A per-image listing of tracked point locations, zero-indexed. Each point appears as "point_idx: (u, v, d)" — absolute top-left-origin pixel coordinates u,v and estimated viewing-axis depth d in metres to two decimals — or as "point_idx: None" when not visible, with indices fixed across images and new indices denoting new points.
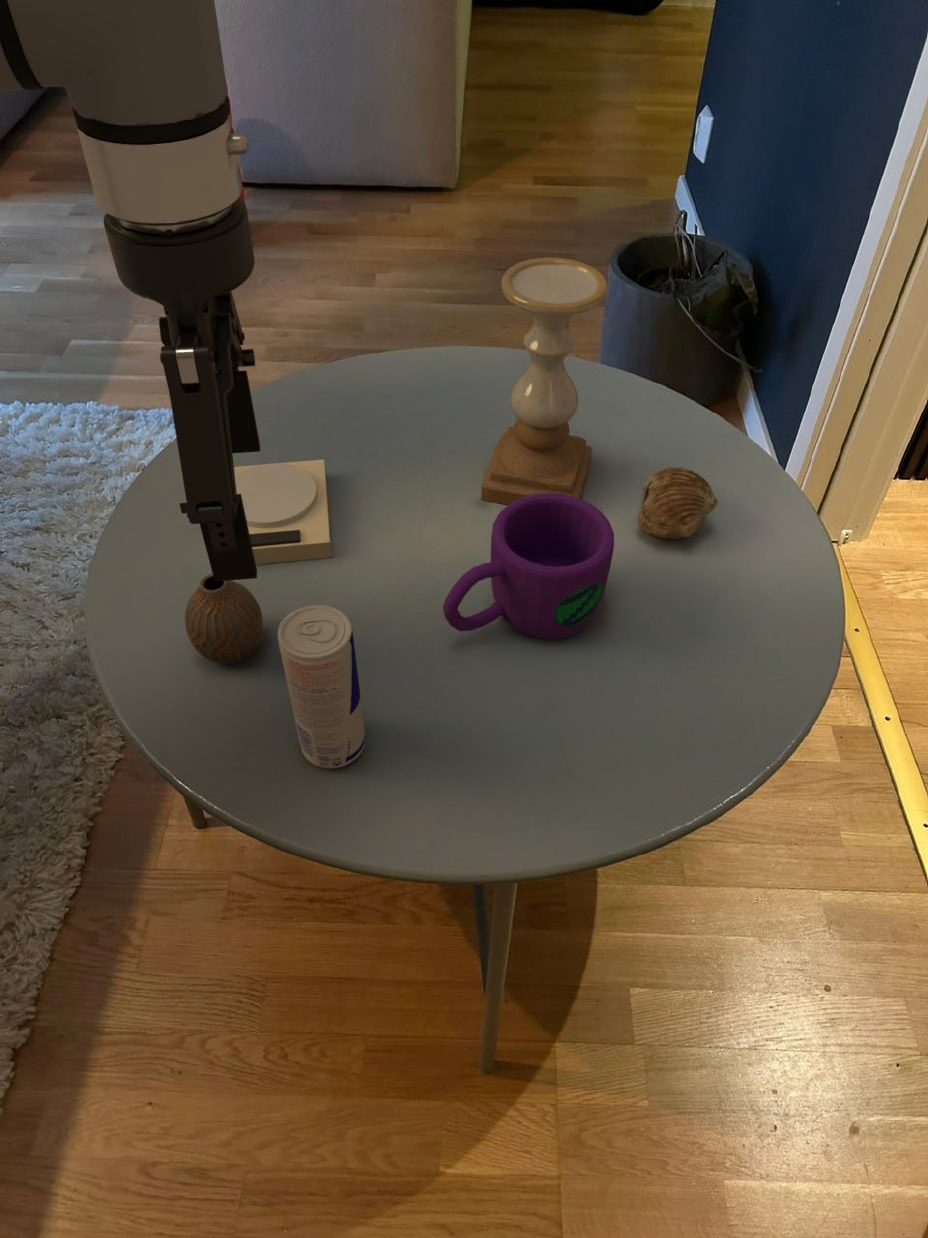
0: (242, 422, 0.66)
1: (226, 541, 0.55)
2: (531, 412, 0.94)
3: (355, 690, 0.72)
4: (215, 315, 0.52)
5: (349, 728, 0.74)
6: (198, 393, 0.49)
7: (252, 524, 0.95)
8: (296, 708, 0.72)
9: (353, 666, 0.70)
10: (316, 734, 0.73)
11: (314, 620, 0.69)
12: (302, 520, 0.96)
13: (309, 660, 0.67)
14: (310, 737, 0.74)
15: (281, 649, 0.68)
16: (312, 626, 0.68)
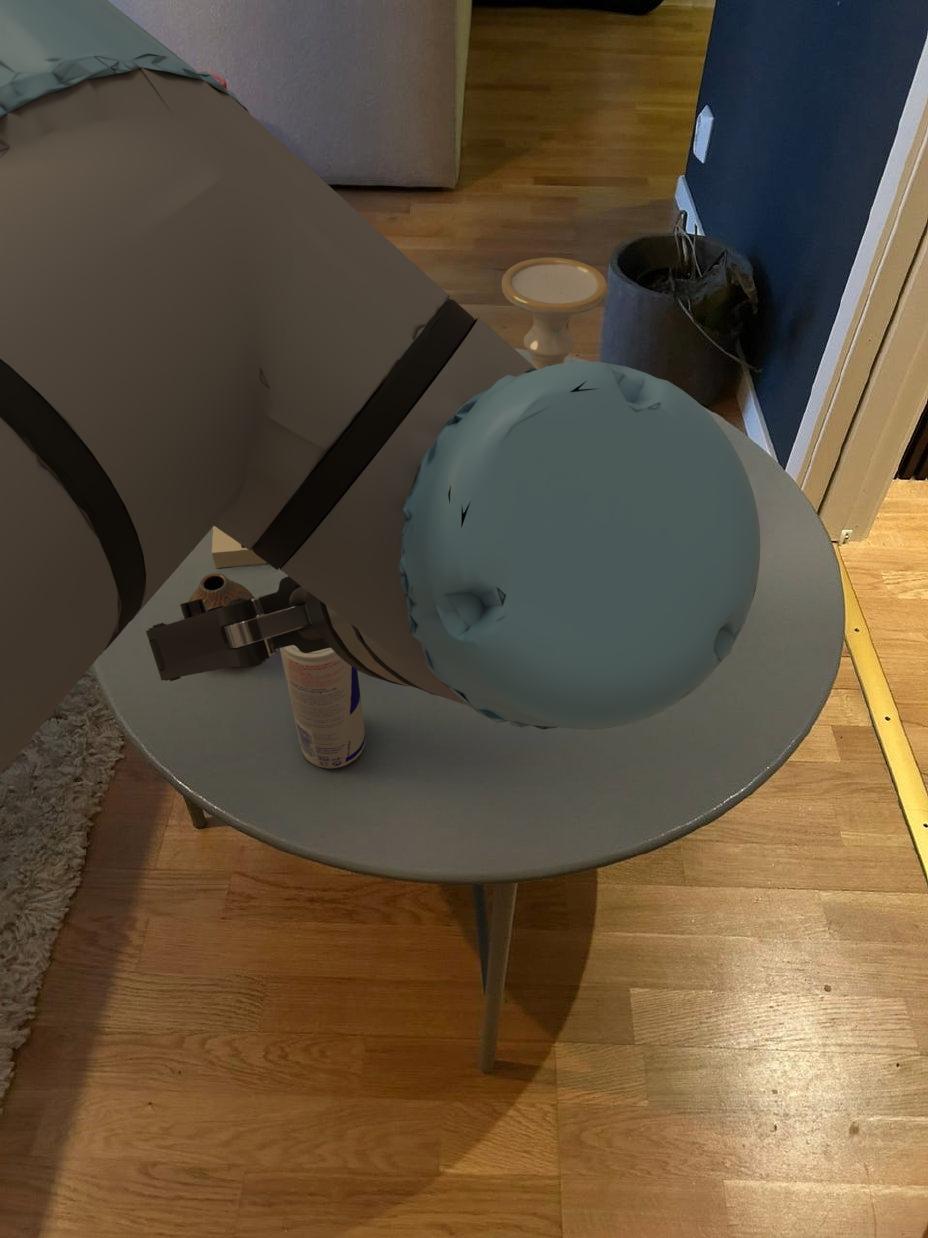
0: None
1: None
2: None
3: (355, 690, 0.72)
4: None
5: (349, 728, 0.74)
6: (224, 645, 0.37)
7: None
8: (296, 708, 0.72)
9: None
10: (316, 734, 0.73)
11: None
12: None
13: (309, 660, 0.67)
14: (310, 737, 0.74)
15: (281, 649, 0.68)
16: None
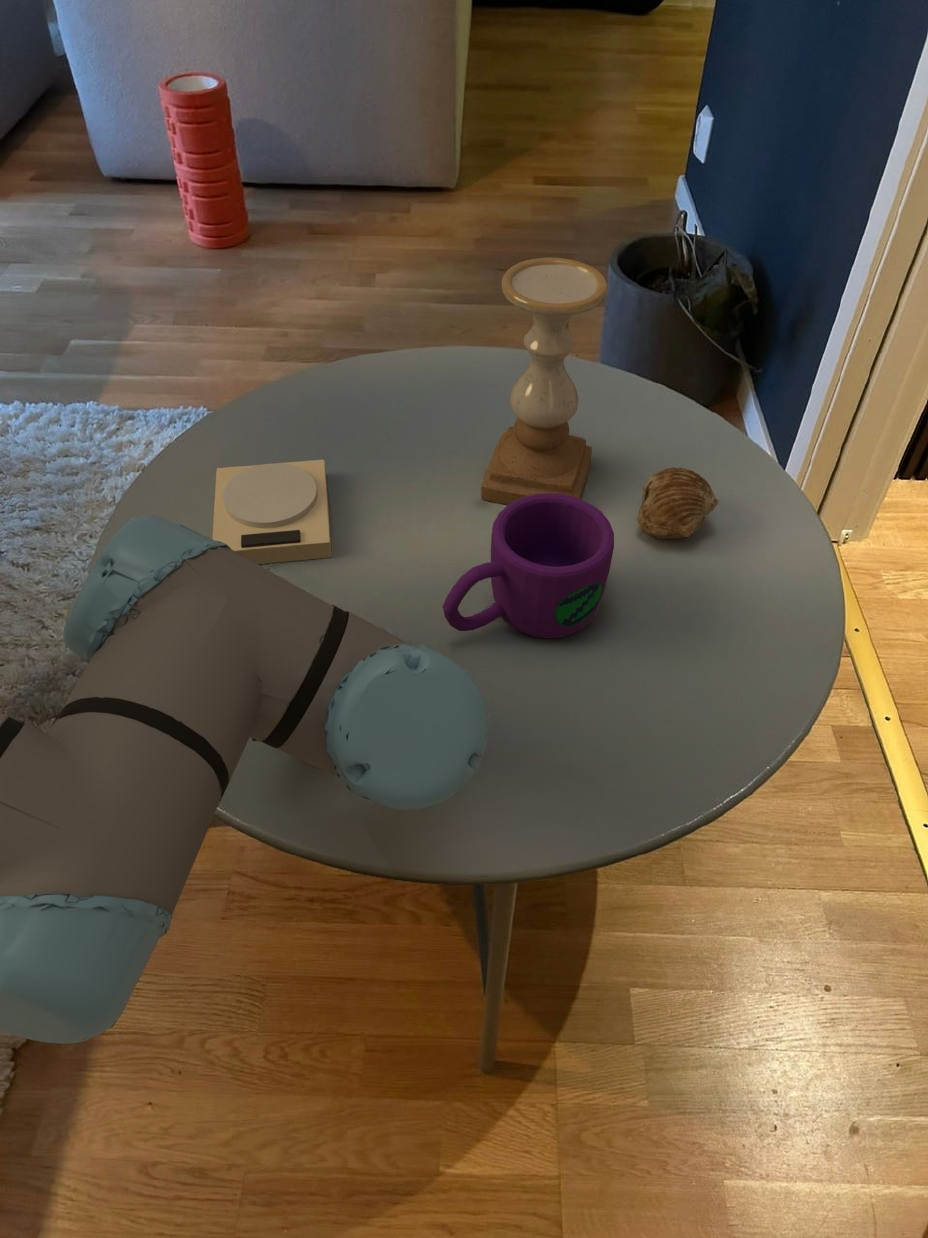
0: None
1: None
2: (531, 412, 0.94)
3: None
4: None
5: None
6: None
7: (252, 524, 0.95)
8: None
9: None
10: None
11: None
12: (302, 520, 0.96)
13: None
14: None
15: None
16: None
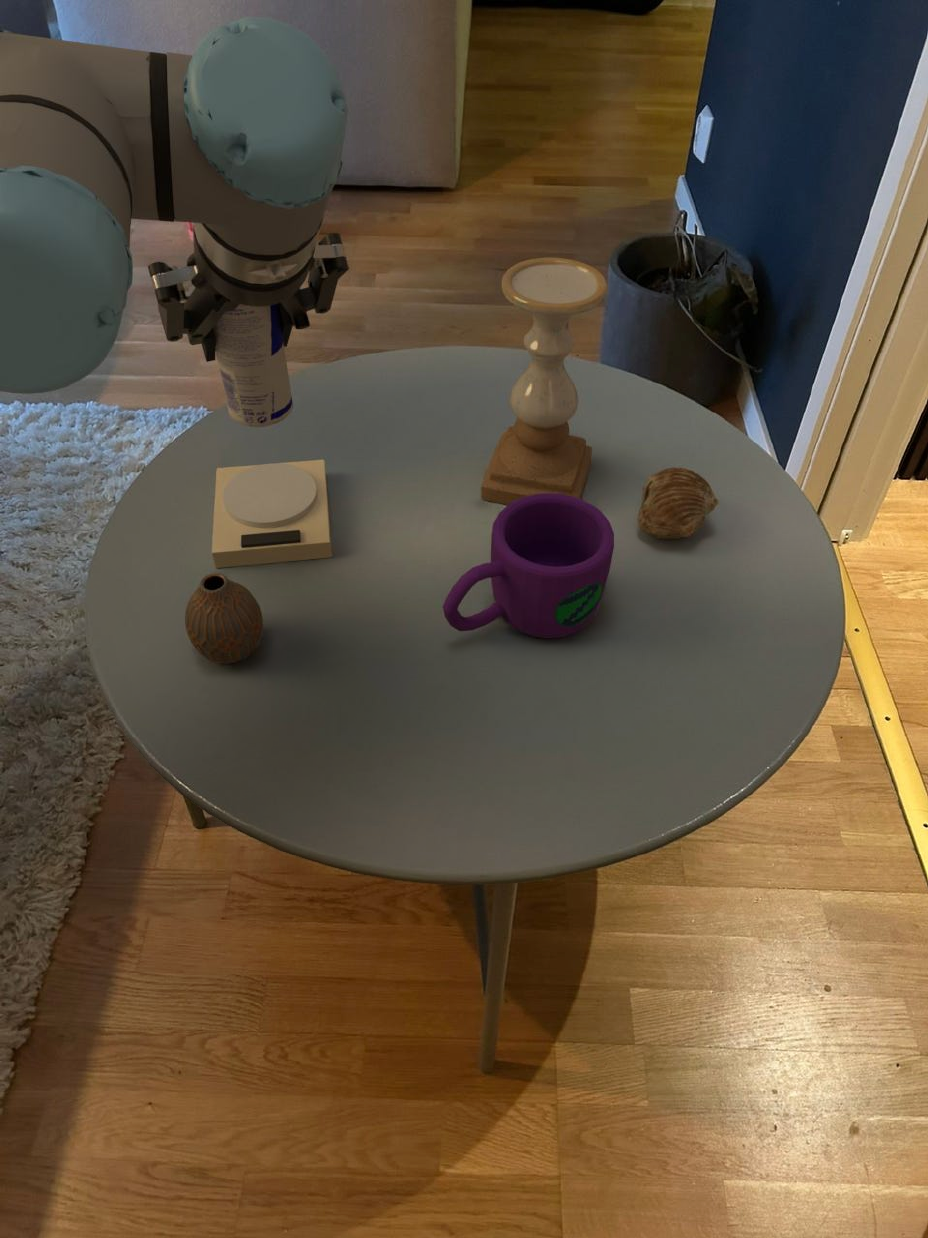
0: None
1: (187, 335, 0.73)
2: (531, 412, 0.94)
3: (276, 328, 0.73)
4: None
5: (271, 373, 0.75)
6: None
7: (252, 524, 0.95)
8: (218, 345, 0.73)
9: None
10: (238, 375, 0.74)
11: None
12: (302, 520, 0.96)
13: None
14: (233, 382, 0.75)
15: None
16: None
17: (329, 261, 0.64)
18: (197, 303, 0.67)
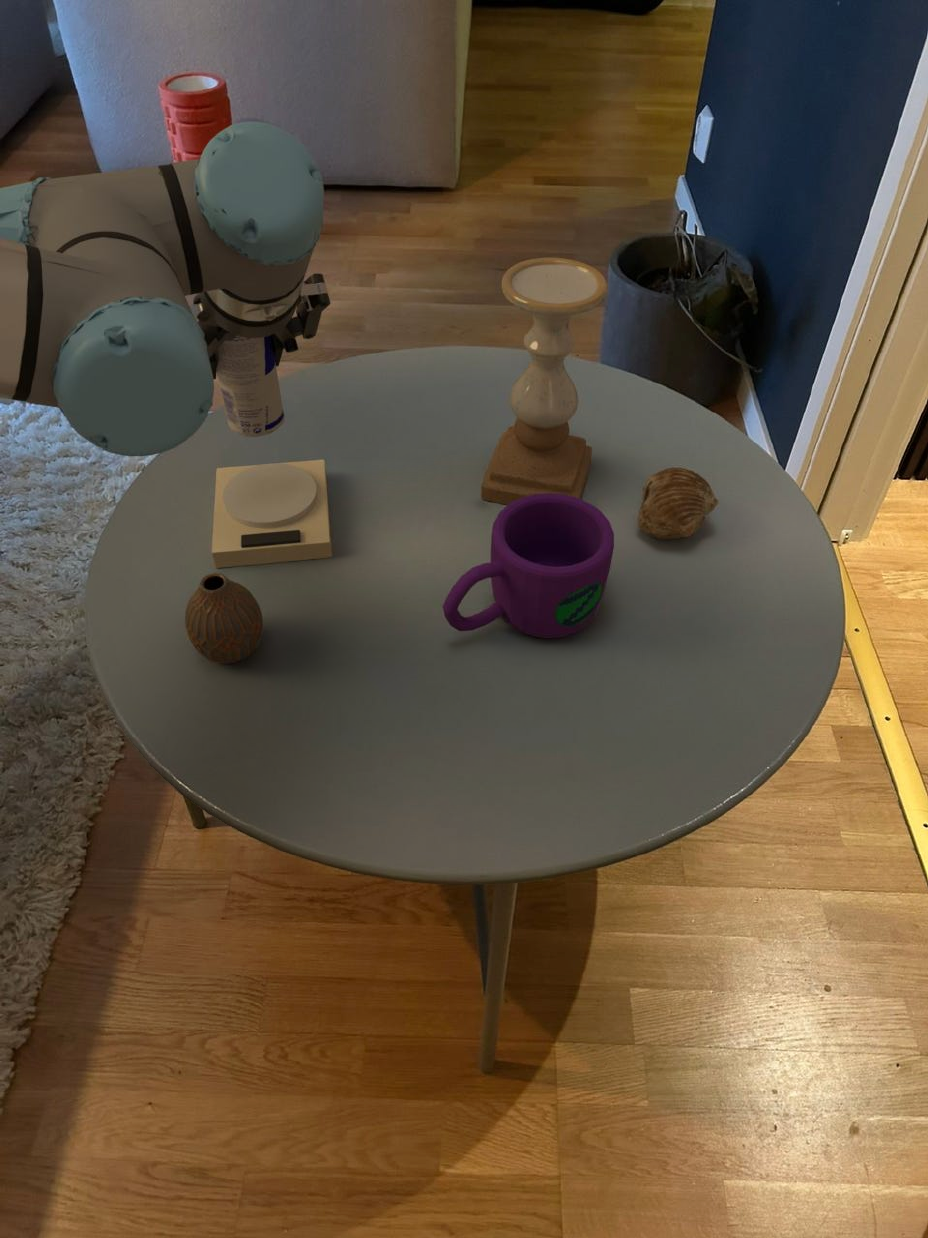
0: None
1: None
2: (531, 412, 0.94)
3: (269, 351, 0.84)
4: None
5: (265, 390, 0.86)
6: None
7: (252, 524, 0.95)
8: (218, 366, 0.84)
9: None
10: (236, 393, 0.86)
11: None
12: (302, 520, 0.96)
13: None
14: (232, 398, 0.86)
15: None
16: None
17: (314, 297, 0.75)
18: None
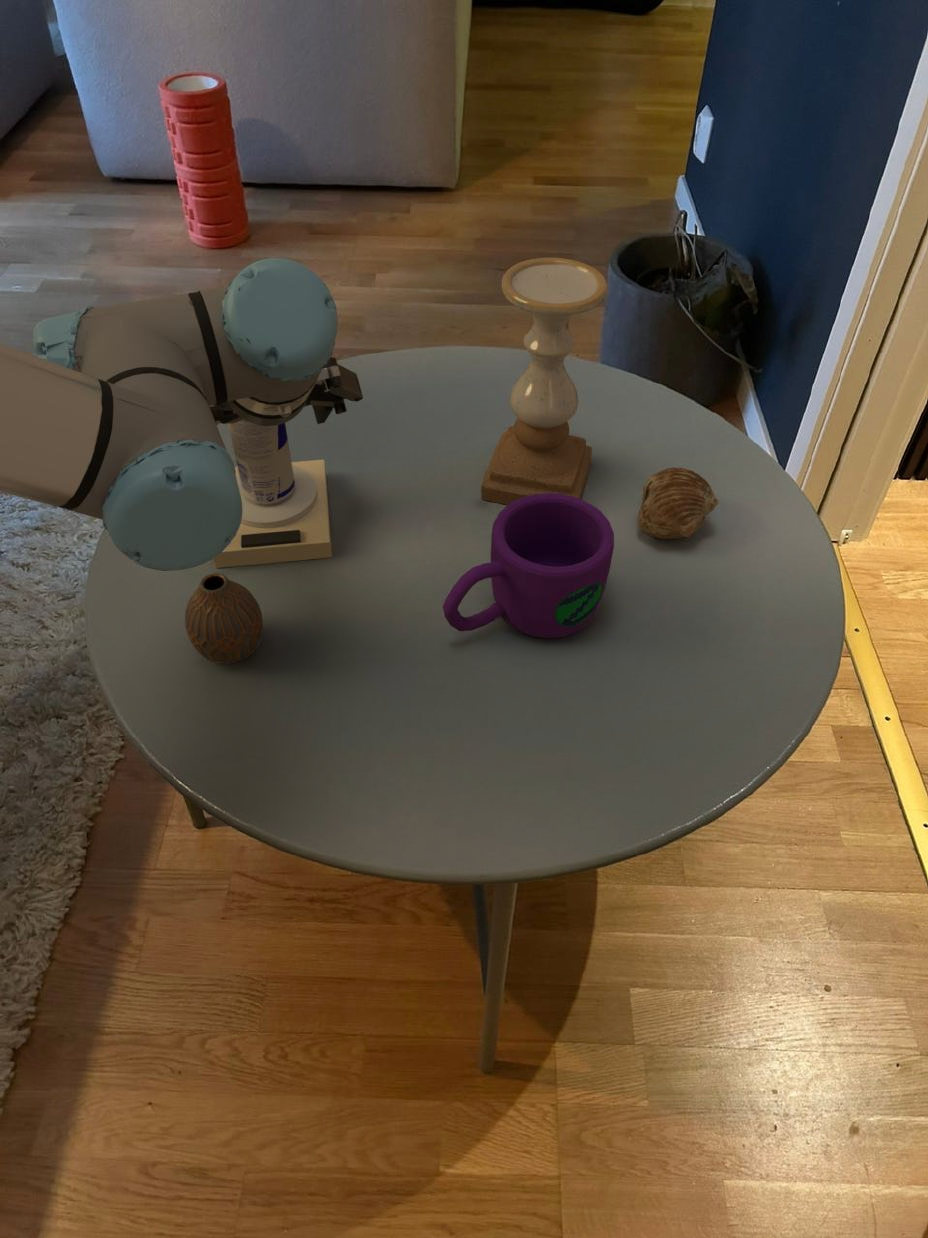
0: (318, 410, 0.93)
1: None
2: (531, 412, 0.94)
3: (282, 429, 0.91)
4: None
5: (278, 463, 0.92)
6: None
7: (252, 524, 0.95)
8: (235, 442, 0.91)
9: None
10: (251, 466, 0.92)
11: None
12: (302, 520, 0.96)
13: None
14: (247, 470, 0.92)
15: None
16: None
17: (327, 379, 0.80)
18: None
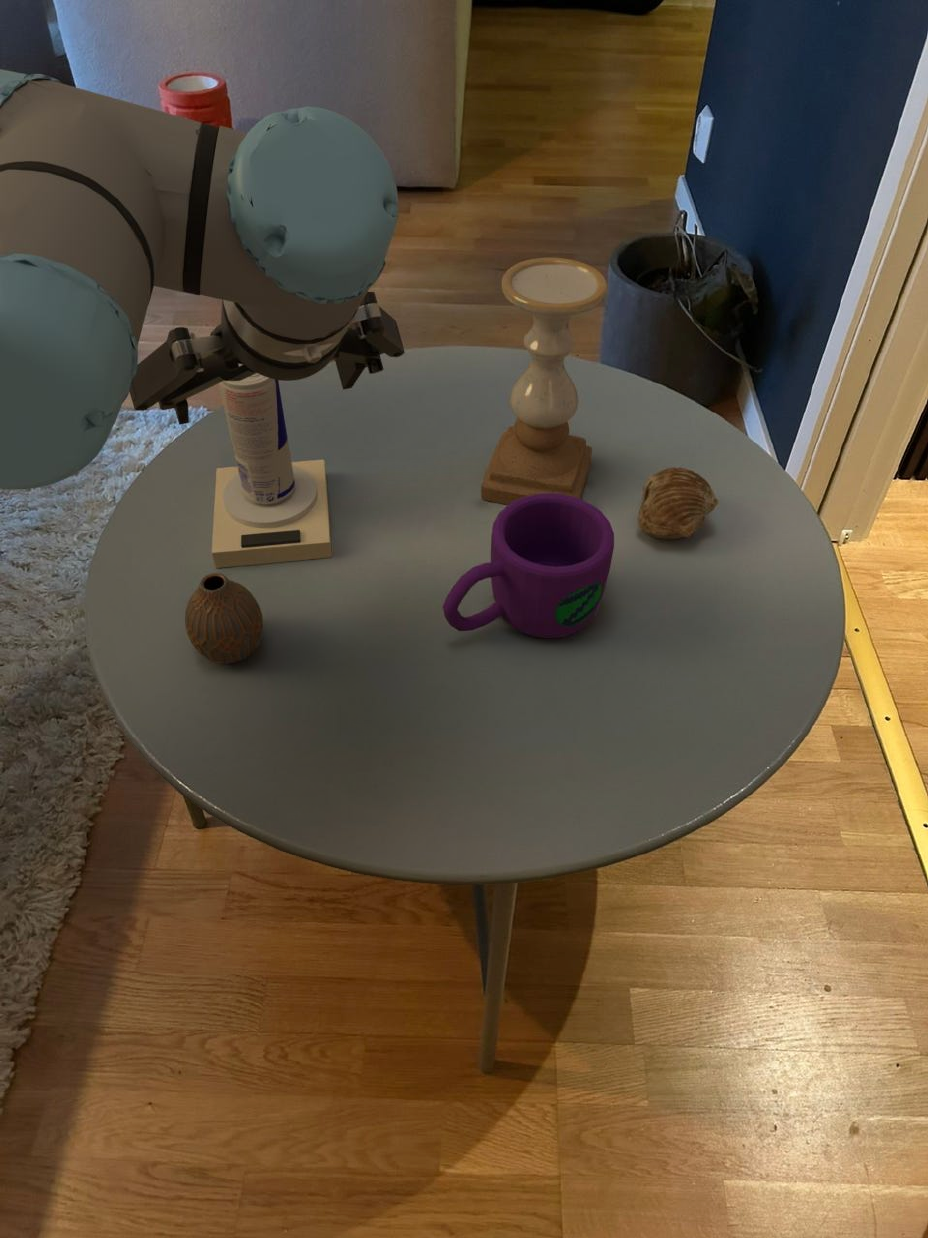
0: (345, 370, 0.73)
1: None
2: (531, 412, 0.94)
3: (282, 429, 0.91)
4: None
5: (278, 463, 0.92)
6: (172, 364, 0.59)
7: (252, 524, 0.95)
8: (235, 442, 0.91)
9: (278, 403, 0.89)
10: (251, 466, 0.92)
11: None
12: (302, 520, 0.96)
13: (241, 388, 0.85)
14: (247, 470, 0.92)
15: (220, 383, 0.86)
16: None
17: (363, 322, 0.61)
18: None
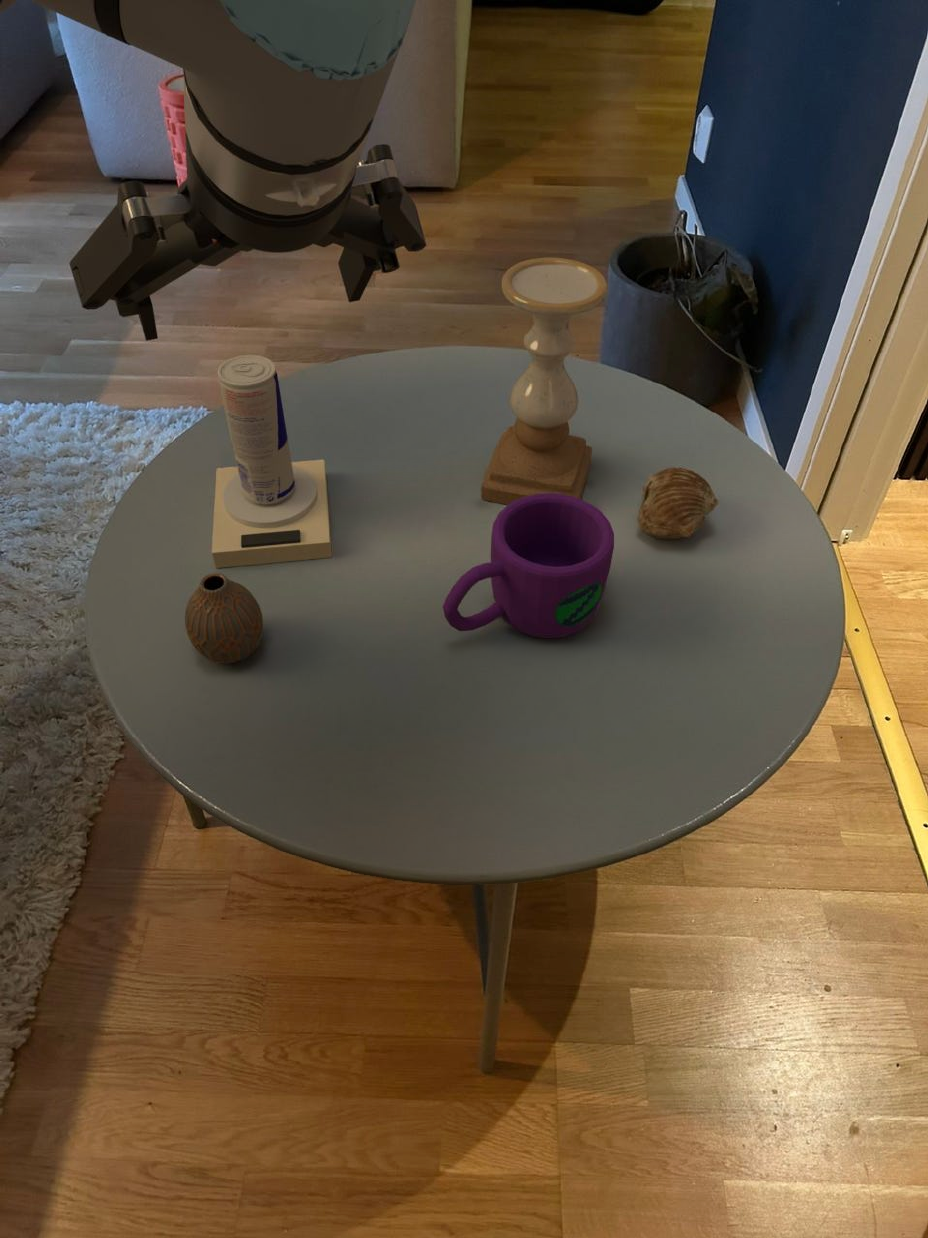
0: (351, 275, 0.59)
1: None
2: (531, 412, 0.94)
3: (282, 429, 0.91)
4: None
5: (278, 463, 0.92)
6: (124, 235, 0.45)
7: (252, 524, 0.95)
8: (235, 442, 0.91)
9: (278, 403, 0.89)
10: (251, 466, 0.92)
11: (246, 363, 0.87)
12: (302, 520, 0.96)
13: (241, 388, 0.85)
14: (247, 470, 0.92)
15: (220, 383, 0.86)
16: (244, 366, 0.87)
17: (376, 185, 0.47)
18: None
